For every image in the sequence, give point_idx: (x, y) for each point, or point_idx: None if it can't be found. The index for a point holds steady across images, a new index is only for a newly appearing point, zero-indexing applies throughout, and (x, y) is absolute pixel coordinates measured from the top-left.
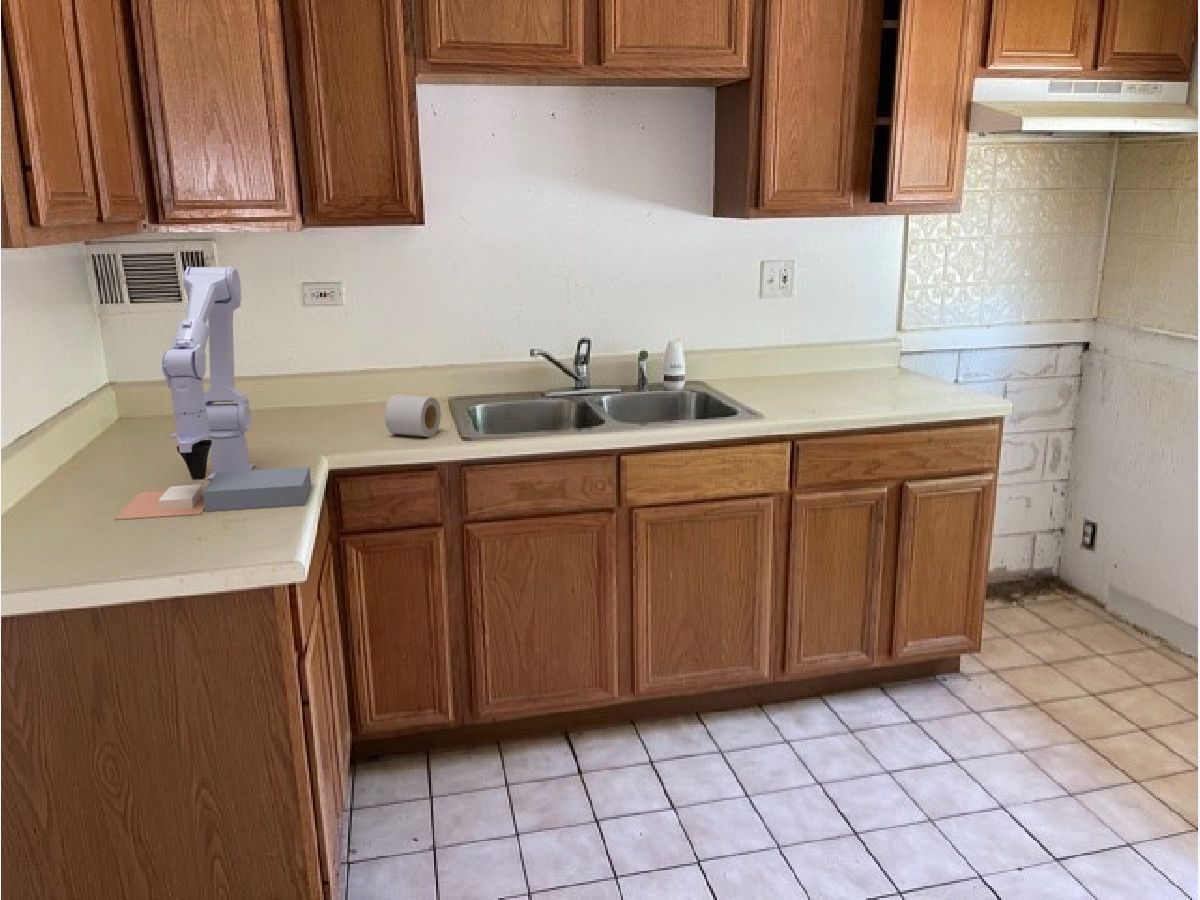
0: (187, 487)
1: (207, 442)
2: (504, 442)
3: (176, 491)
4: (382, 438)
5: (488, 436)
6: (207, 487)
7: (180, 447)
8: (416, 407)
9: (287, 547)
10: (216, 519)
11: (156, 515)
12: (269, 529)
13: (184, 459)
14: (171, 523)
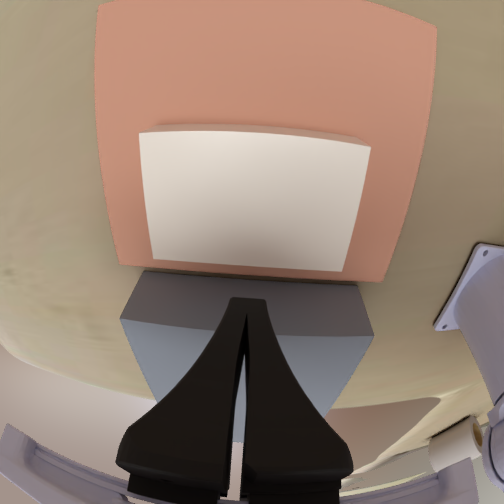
0: (322, 223)
1: (243, 500)
2: (366, 466)
3: (273, 184)
4: (467, 412)
5: (395, 458)
6: (167, 328)
7: (1, 449)
8: (440, 466)
9: (29, 358)
10: (92, 296)
11: (105, 133)
12: (68, 357)
13: (174, 387)
14: (56, 199)
